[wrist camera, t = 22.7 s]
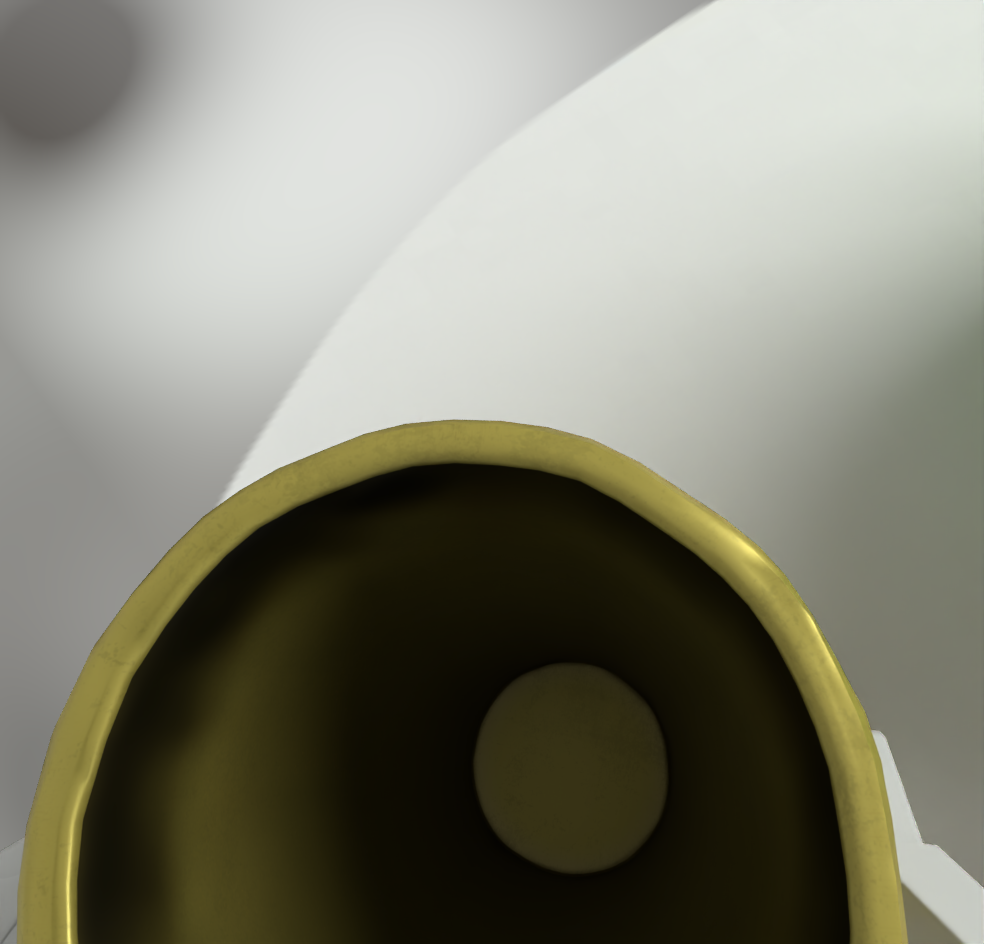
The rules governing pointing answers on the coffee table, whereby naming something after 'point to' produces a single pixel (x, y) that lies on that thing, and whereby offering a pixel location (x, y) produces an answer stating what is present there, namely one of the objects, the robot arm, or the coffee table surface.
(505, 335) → the coffee table surface
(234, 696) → the vase
